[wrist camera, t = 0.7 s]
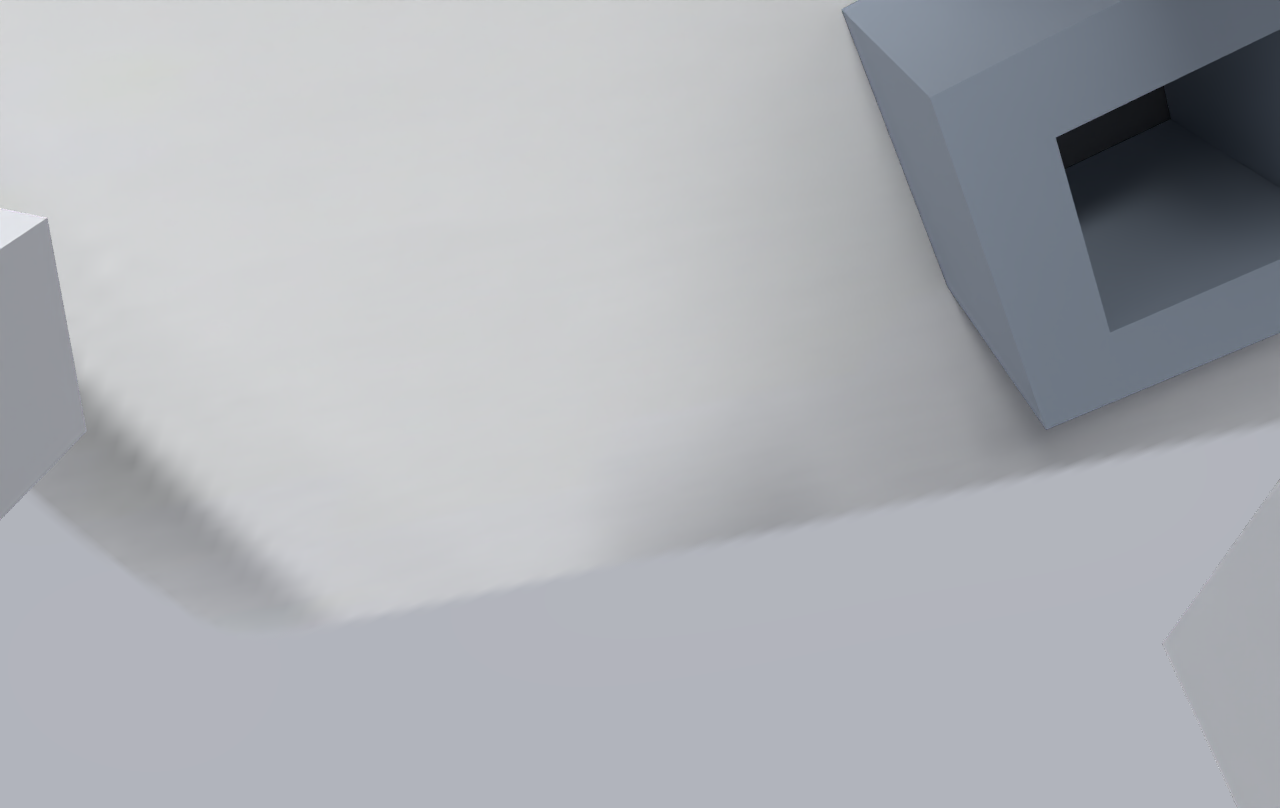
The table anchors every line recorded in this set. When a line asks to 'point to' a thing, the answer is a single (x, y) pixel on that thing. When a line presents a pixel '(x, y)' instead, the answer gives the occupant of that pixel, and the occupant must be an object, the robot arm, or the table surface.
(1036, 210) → the collar block
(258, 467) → the table surface
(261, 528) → the table surface
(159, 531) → the table surface
